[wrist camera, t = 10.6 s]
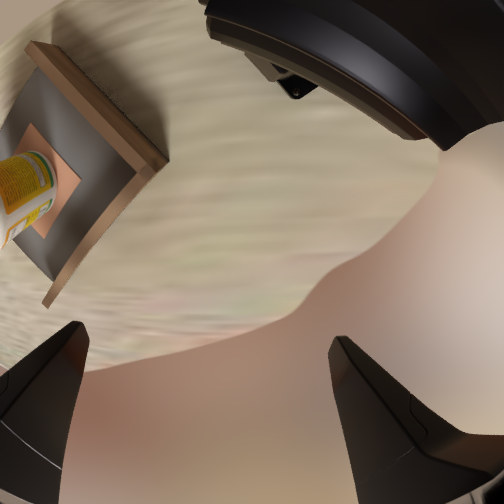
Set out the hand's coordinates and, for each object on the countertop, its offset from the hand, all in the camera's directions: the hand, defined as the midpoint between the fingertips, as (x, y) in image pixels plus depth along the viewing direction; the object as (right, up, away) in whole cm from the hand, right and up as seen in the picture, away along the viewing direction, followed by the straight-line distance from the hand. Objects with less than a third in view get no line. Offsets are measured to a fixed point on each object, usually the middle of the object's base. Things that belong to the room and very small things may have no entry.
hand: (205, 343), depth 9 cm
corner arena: (-15, +9, +8) cm, 19 cm away
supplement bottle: (-15, +9, +7) cm, 19 cm away
